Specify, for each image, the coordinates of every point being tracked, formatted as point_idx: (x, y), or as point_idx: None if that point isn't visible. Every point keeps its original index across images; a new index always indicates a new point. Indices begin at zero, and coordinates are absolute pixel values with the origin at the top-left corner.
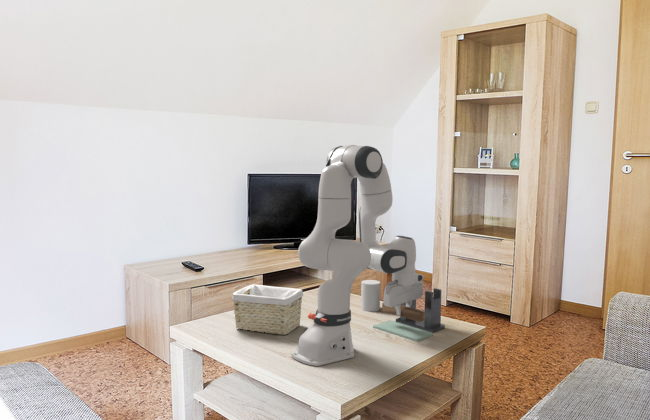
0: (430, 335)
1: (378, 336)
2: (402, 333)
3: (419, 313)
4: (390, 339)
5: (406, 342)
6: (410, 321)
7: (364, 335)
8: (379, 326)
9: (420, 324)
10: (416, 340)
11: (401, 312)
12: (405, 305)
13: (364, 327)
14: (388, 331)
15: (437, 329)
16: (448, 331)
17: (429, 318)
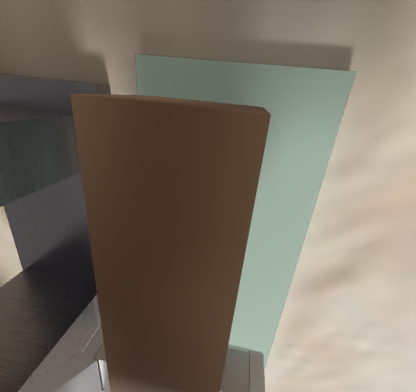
0: (171, 57)
1: (380, 307)
2: (286, 220)
3: (267, 129)
4: (400, 239)
5: (411, 127)
6: (89, 264)
7: (402, 361)
8: (255, 349)
9: (82, 203)
10: (350, 76)
11: (238, 370)
12: (31, 378)
13: (284, 386)
14: (285, 295)
15: (51, 79)
16: (4, 11)
17: (26, 138)
